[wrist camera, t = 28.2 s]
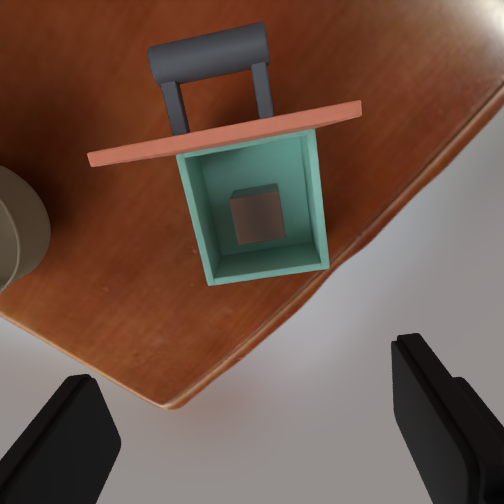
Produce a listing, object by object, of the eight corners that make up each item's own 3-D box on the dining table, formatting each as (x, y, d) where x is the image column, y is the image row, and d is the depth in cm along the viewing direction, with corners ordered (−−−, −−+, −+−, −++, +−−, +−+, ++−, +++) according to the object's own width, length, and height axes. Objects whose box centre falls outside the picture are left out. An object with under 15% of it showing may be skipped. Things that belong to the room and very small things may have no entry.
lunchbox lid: (362, 115, 13) (353, -18, 12) (90, 167, 14) (53, 51, 13) (315, 128, 25) (308, 65, 24) (174, 155, 26) (159, 95, 25)
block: (241, 231, 35) (238, 245, 31) (233, 190, 34) (229, 198, 29) (283, 225, 35) (285, 238, 30) (277, 182, 33) (278, 190, 29)
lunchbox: (318, 244, 36) (329, 268, 30) (217, 260, 37) (208, 286, 31) (304, 125, 32) (314, 124, 26) (191, 147, 33) (174, 150, 27)
